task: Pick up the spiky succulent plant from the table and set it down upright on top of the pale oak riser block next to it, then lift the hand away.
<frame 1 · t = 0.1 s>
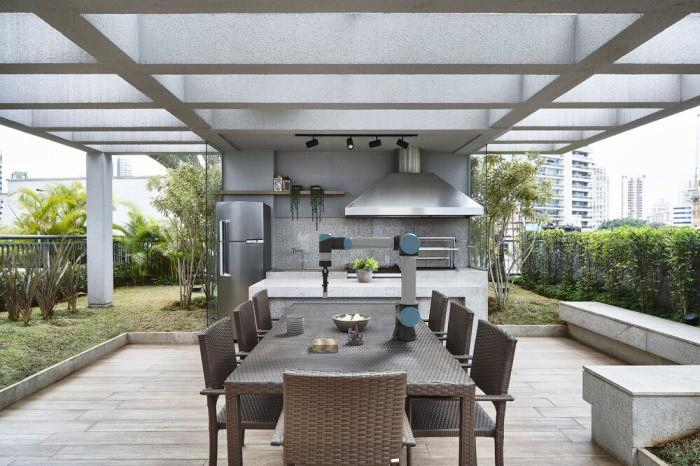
hand: (325, 296, 280), 28 cm above the table, tool pointing down, fingers open, 13 cm apart
can: (295, 334, 310), on the table
spiky succulent plant: (355, 343, 282), on the table
oak riser: (325, 348, 268), on the table
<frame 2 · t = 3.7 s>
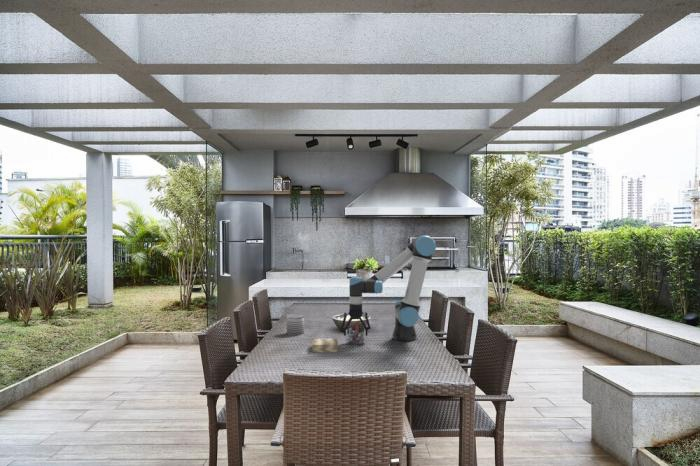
hand: (355, 341, 282), 1 cm above the table, tool pointing down, fingers closed on spiky succulent plant, 10 cm apart
spiky succulent plant: (355, 343, 283), on the table, touching gripper
everything else where it was.
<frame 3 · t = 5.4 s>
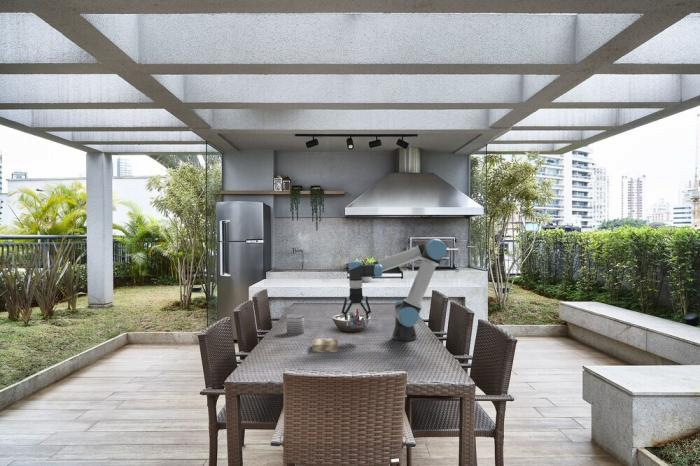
hand: (356, 325, 282), 11 cm above the table, tool pointing down, fingers closed on spiky succulent plant, 10 cm apart
spiky succulent plant: (356, 327, 283), point 9 cm above the table, touching gripper
everything else where it was.
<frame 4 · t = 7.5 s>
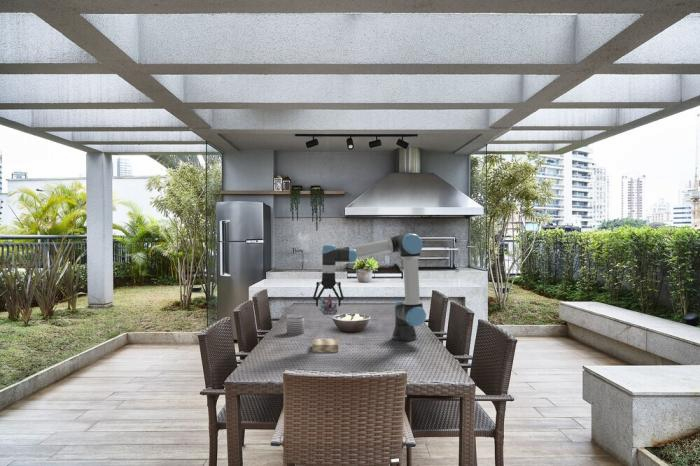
hand: (328, 311, 269), 20 cm above the table, tool pointing down, fingers closed on spiky succulent plant, 10 cm apart
spiky succulent plant: (328, 314, 270), point 19 cm above the table, touching gripper
everything else where it was.
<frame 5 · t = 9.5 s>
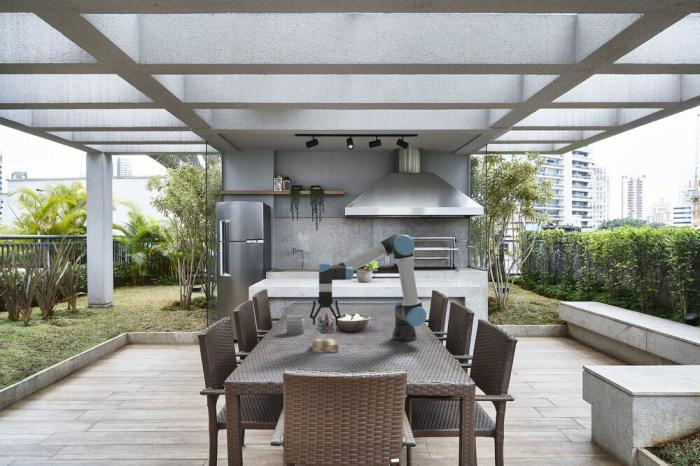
hand: (325, 330, 268), 10 cm above the table, tool pointing down, fingers closed on spiky succulent plant, 10 cm apart
spiky succulent plant: (325, 332, 269), point 9 cm above the table, touching gripper
everything else where it was.
when the fingers open (7 cm above the table, at t = 11.2 s): spiky succulent plant drops 1 cm, resting on oak riser.
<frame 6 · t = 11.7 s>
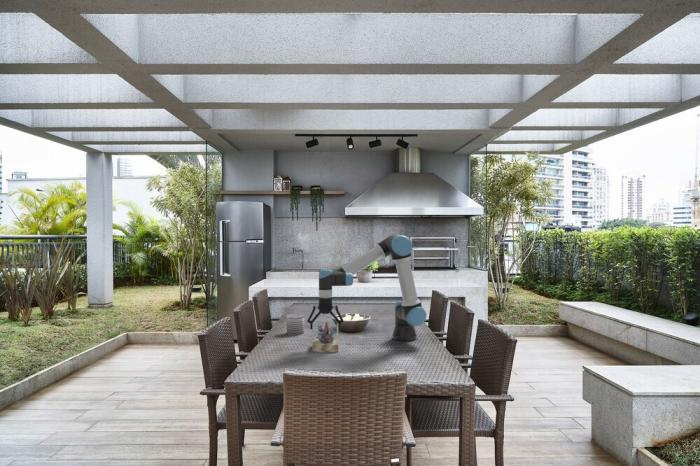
hand: (325, 335, 268), 8 cm above the table, tool pointing down, fingers open, 13 cm apart
spiky succulent plant: (325, 341, 269), point 4 cm above the table, touching oak riser
everything else where it was.
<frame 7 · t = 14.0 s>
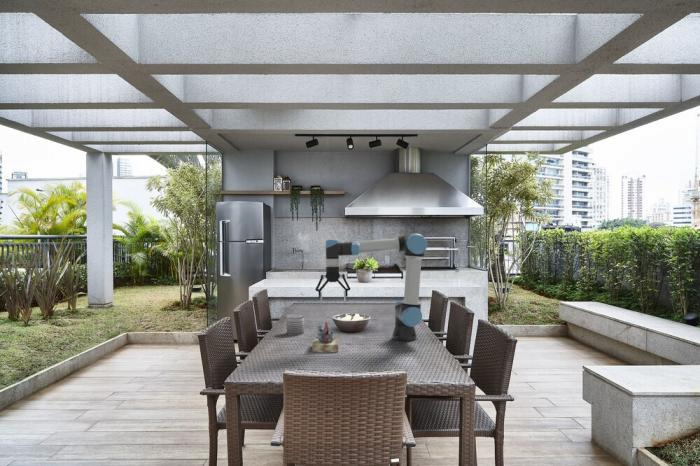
hand: (333, 302, 277), 25 cm above the table, tool pointing down, fingers open, 13 cm apart
nothing on the table moved.
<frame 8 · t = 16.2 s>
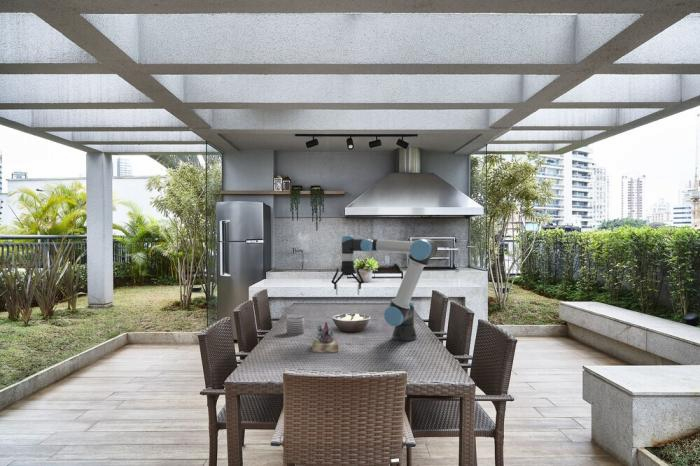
hand: (347, 294, 299), 27 cm above the table, tool pointing down, fingers open, 13 cm apart
nothing on the table moved.
at the end: spiky succulent plant inside the target area on the oak riser (1.2 cm from its centre), point 3.8 cm above the oak riser's base; spiky succulent plant tilted 1°; the gripper is holding nothing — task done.
